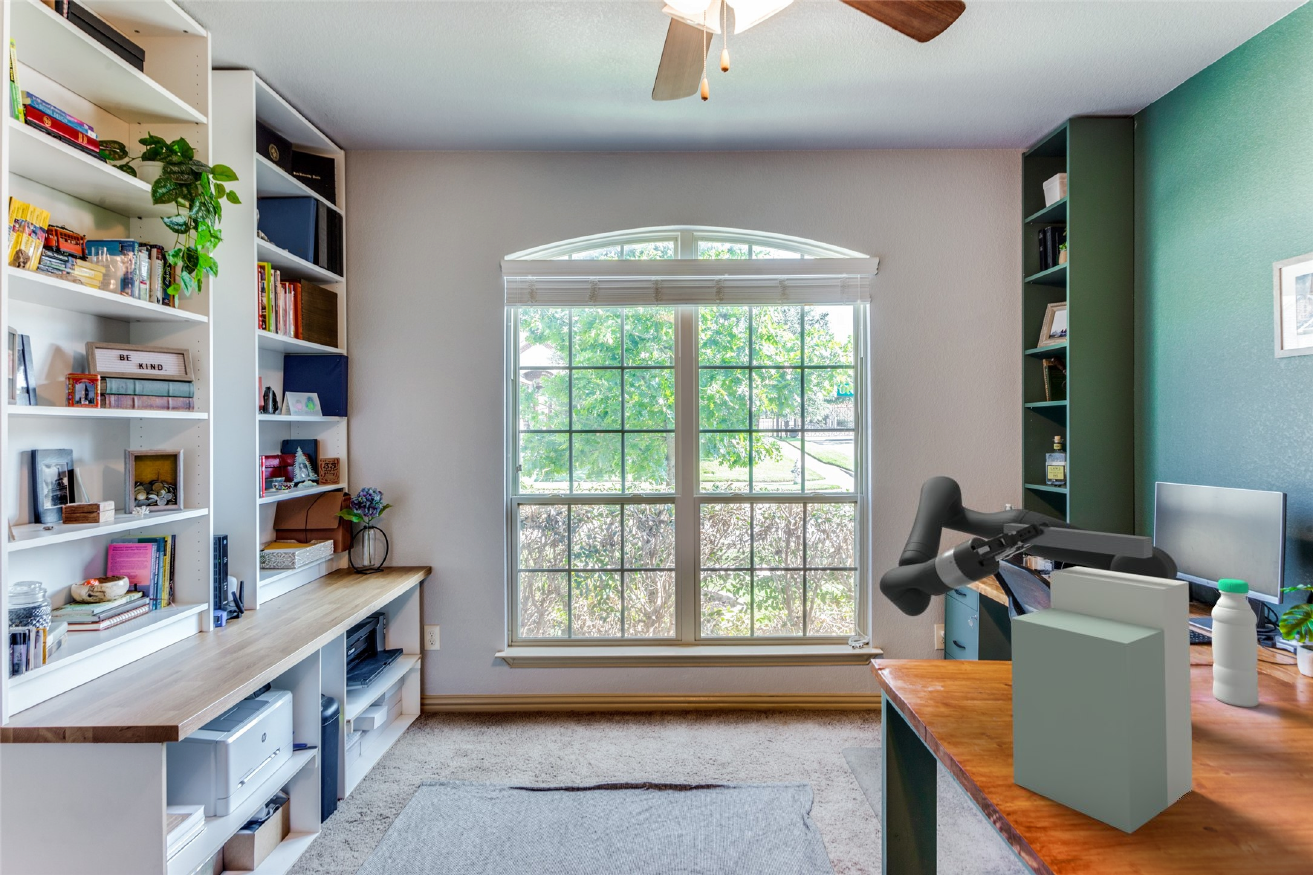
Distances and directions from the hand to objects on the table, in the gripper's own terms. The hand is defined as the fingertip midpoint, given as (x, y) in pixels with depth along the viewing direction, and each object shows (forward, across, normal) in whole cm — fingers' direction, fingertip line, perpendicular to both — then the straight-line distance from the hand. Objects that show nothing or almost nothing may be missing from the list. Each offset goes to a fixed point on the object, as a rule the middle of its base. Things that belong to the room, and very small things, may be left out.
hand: (1044, 527), depth 114 cm
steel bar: (+2, 0, +5) cm, 5 cm away
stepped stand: (-10, -6, +39) cm, 41 cm away
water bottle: (-11, +54, +39) cm, 67 cm away
